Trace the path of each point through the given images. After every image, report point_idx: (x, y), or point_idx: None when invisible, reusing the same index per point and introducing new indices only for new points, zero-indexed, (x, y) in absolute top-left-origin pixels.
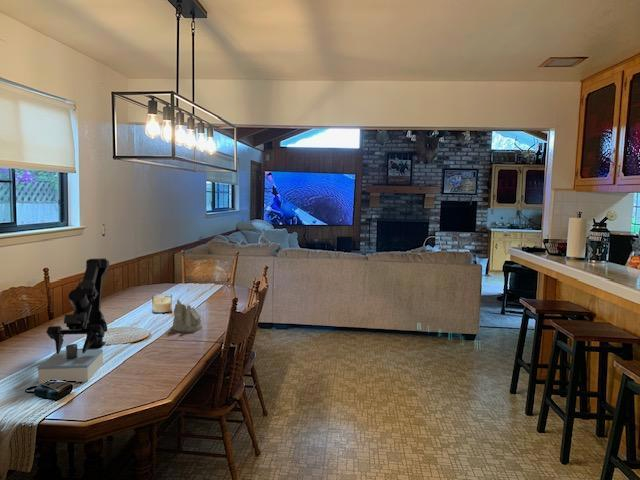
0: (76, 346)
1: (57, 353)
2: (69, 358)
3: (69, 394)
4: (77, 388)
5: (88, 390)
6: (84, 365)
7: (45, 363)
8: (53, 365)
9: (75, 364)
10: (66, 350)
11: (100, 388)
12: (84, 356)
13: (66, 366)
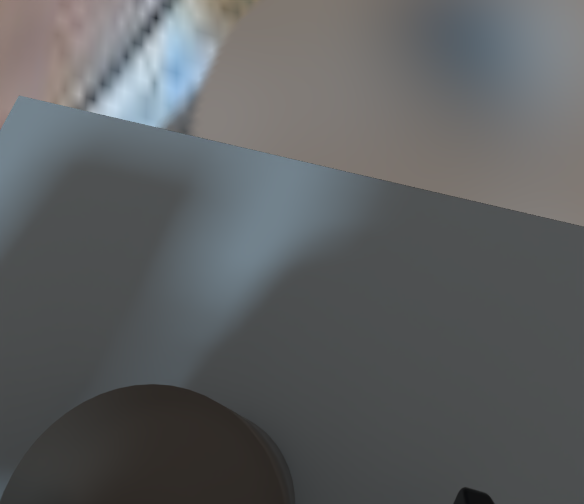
0: (26, 461)
1: (463, 498)
2: (239, 414)
3: (240, 8)
4: (186, 88)
5: (109, 30)
6: (52, 103)
7: (581, 348)
8: (437, 221)
9: (154, 162)
10: (277, 461)
11: (24, 35)
12: (7, 479)
13: (265, 158)
